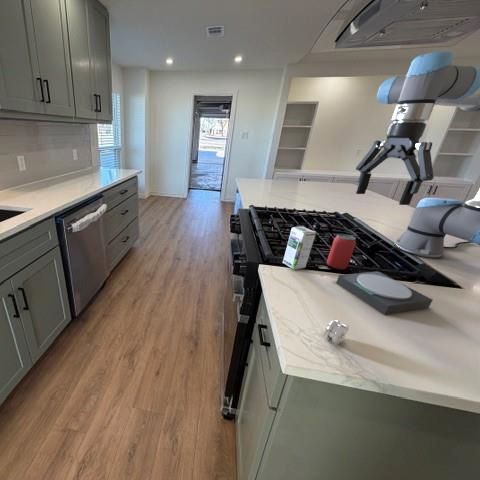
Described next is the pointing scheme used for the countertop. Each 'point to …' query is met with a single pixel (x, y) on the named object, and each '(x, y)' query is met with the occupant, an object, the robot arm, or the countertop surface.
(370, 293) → the kitchen scale
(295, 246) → the syrup box
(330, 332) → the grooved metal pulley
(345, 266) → the beer can
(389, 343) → the countertop surface
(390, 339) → the countertop surface
